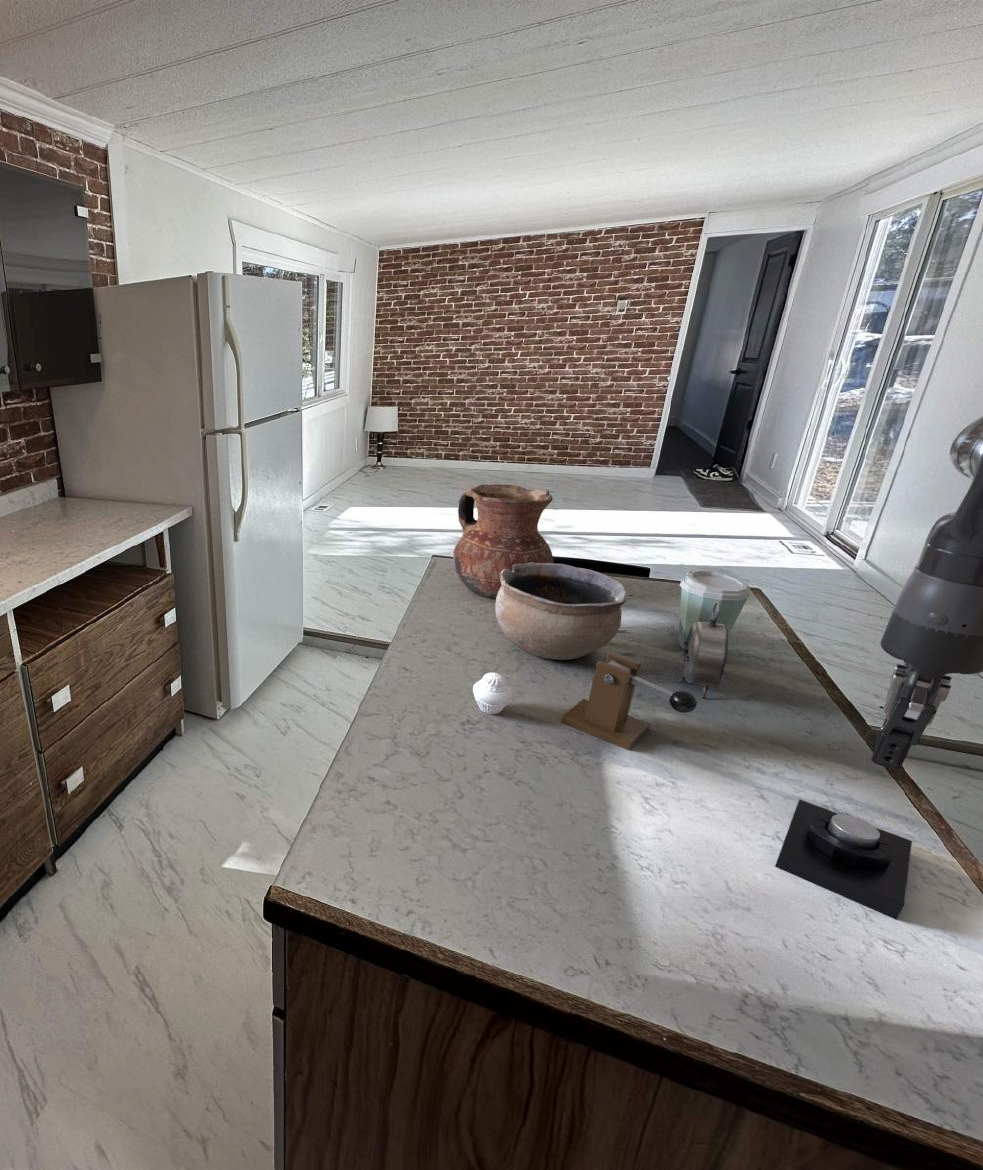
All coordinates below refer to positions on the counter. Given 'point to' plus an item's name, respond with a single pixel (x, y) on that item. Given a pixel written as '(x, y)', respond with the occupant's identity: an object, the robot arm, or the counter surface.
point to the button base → (846, 861)
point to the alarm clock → (706, 653)
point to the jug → (498, 534)
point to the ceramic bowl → (558, 609)
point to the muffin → (492, 693)
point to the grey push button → (853, 831)
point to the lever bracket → (609, 705)
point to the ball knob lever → (663, 692)
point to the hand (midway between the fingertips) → (886, 757)
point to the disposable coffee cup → (710, 599)
